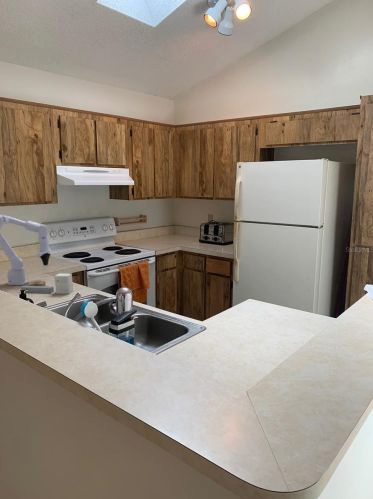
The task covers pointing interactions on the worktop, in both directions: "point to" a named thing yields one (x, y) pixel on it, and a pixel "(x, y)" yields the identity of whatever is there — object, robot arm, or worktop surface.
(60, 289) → the small box
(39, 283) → the walnut block
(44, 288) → the board
